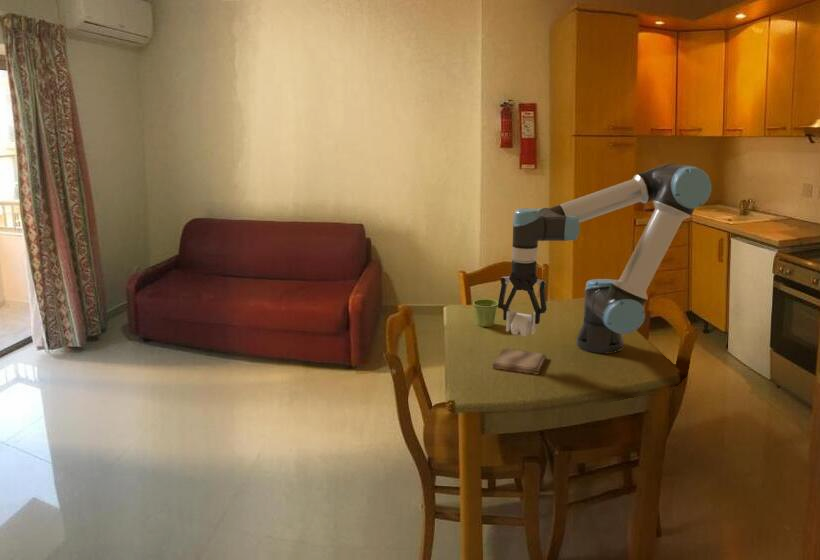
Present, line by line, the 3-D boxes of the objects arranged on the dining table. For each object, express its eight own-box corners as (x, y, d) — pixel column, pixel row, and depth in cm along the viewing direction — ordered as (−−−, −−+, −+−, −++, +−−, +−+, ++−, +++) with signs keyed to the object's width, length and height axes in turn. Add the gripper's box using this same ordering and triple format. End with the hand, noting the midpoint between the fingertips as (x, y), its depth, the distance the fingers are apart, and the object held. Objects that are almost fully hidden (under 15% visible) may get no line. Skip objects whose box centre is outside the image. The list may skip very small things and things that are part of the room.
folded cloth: (546, 358, 203) (546, 353, 203) (538, 374, 191) (538, 369, 190) (503, 352, 208) (503, 348, 208) (492, 368, 196) (493, 363, 195)
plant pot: (485, 330, 230) (486, 307, 228) (467, 324, 237) (467, 302, 235) (503, 325, 236) (503, 303, 234) (484, 319, 243) (485, 297, 241)
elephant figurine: (539, 330, 199) (540, 308, 197) (527, 339, 191) (528, 317, 189) (516, 326, 203) (517, 305, 201) (504, 334, 195) (505, 312, 193)
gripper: (560, 260, 191) (555, 331, 197) (494, 255, 198) (492, 324, 204) (556, 265, 184) (551, 339, 190) (488, 260, 191) (486, 331, 197)
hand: (520, 331), depth 197 cm, fingers closed on elephant figurine, 7 cm apart
